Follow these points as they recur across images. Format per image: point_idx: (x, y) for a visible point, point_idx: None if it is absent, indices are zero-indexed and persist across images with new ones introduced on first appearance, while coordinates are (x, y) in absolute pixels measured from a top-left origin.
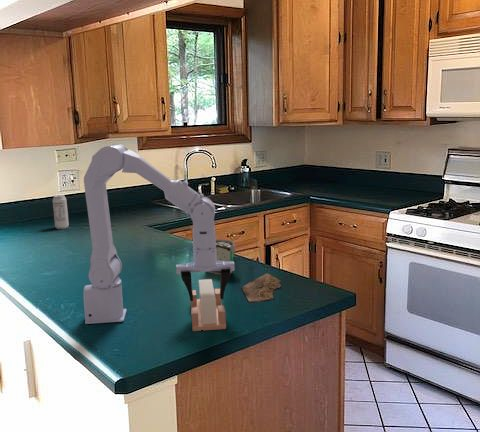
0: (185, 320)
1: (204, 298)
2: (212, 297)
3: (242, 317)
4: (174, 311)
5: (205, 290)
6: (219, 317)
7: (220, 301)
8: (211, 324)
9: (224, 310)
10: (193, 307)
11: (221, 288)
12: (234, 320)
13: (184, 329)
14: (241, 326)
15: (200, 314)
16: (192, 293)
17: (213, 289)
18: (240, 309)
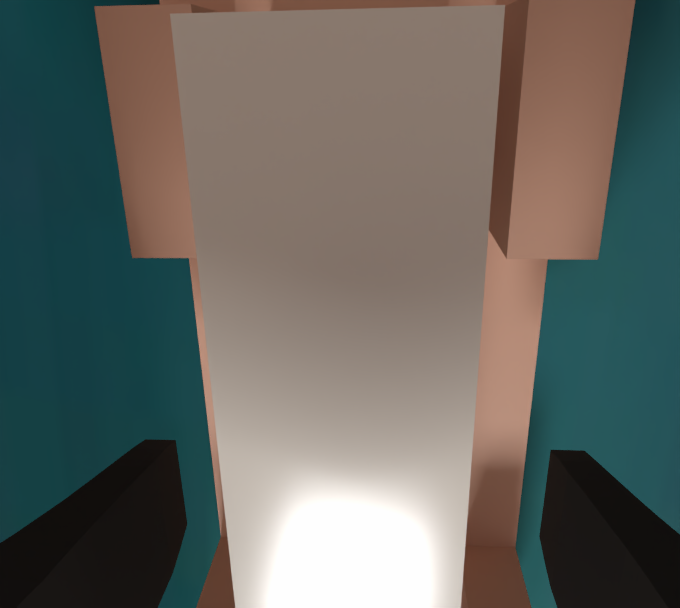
0: (601, 289)
1: (417, 138)
2: (246, 175)
3: (21, 264)
4: (671, 516)
5: (370, 544)
6: (212, 10)
7: (222, 558)
8: (334, 8)
9: (110, 58)
10: (496, 514)
11: (84, 527)
12: (95, 202)
13: (655, 35)
14: (7, 19)
15: None
16: (566, 572)
17: (235, 560)
18: (58, 448)
